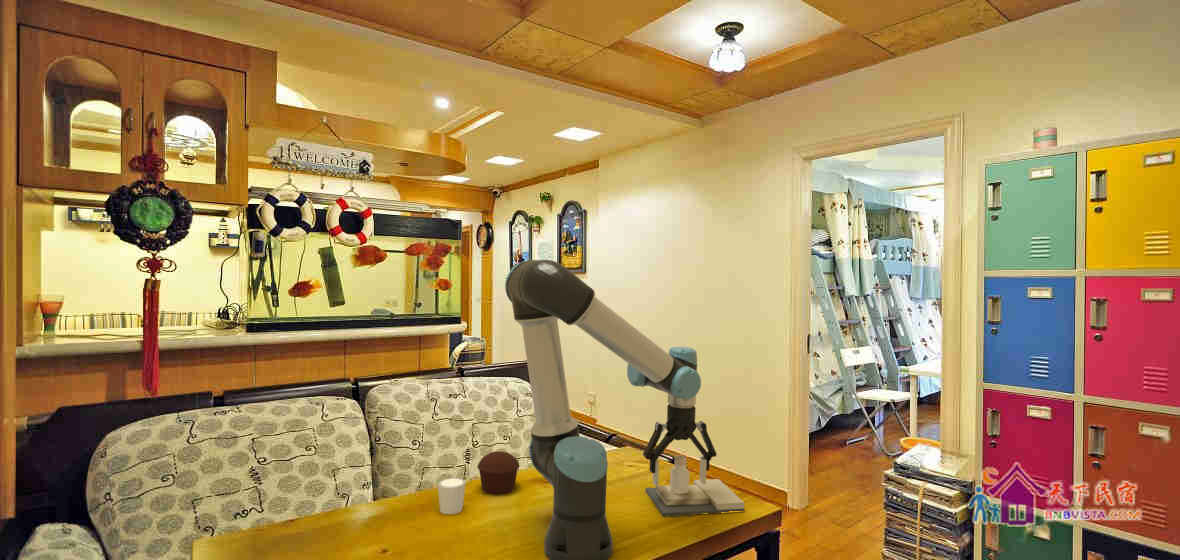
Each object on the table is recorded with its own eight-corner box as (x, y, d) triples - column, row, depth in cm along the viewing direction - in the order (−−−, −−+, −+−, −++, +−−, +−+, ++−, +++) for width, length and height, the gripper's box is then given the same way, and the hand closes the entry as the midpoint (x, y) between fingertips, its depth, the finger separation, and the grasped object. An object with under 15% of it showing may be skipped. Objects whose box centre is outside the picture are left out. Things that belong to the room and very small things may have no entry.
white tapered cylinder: (431, 511, 137) (432, 484, 136) (450, 501, 143) (450, 475, 143) (452, 517, 133) (453, 489, 133) (470, 507, 139) (471, 480, 139)
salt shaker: (681, 488, 149) (683, 453, 149) (689, 494, 145) (691, 458, 145) (668, 489, 147) (670, 455, 147) (676, 495, 143) (678, 460, 143)
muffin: (523, 482, 157) (524, 448, 157) (513, 498, 146) (514, 461, 146) (483, 479, 158) (484, 445, 158) (471, 495, 147) (472, 458, 147)
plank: (666, 505, 141) (666, 499, 141) (655, 491, 150) (656, 485, 150) (709, 504, 143) (709, 498, 143) (696, 490, 152) (697, 484, 152)
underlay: (663, 517, 137) (663, 506, 137) (645, 491, 153) (645, 482, 153) (743, 512, 141) (744, 502, 141) (718, 487, 157) (718, 479, 157)
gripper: (641, 409, 140) (638, 491, 140) (730, 407, 144) (728, 486, 145) (633, 402, 147) (631, 479, 147) (718, 400, 152) (716, 476, 152)
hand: (679, 483), depth 146 cm, fingers open, 13 cm apart
